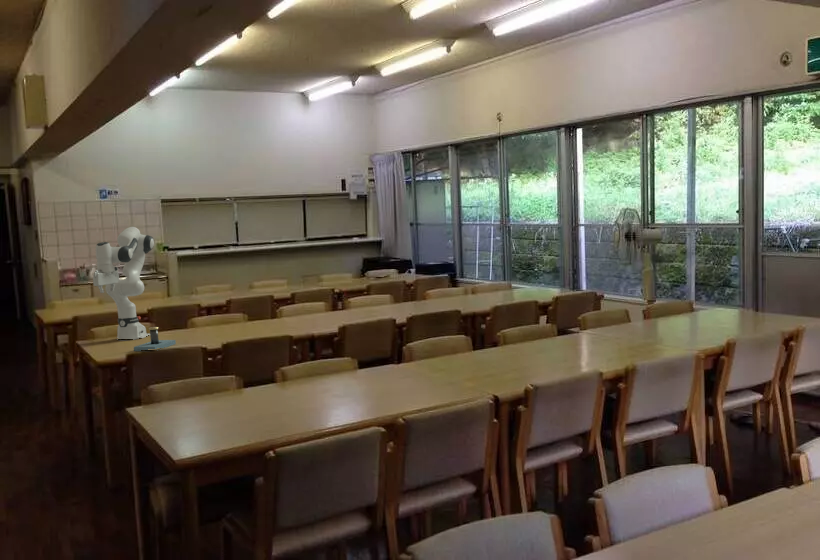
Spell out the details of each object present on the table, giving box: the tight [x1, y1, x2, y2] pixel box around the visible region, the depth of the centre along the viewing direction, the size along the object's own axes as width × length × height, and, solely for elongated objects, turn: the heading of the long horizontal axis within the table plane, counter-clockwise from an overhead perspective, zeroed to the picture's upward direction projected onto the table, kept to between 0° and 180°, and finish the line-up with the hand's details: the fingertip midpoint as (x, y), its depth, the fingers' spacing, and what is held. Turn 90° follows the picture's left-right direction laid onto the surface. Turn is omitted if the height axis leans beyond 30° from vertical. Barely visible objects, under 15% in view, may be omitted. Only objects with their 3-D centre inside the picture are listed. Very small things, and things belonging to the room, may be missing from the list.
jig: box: [133, 339, 177, 352], centre depth 433 cm, size 22×14×2 cm, turn 167°
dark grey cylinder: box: [148, 326, 160, 344], centre depth 433 cm, size 6×6×12 cm
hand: (107, 292), depth 438 cm, fingers open, 8 cm apart
